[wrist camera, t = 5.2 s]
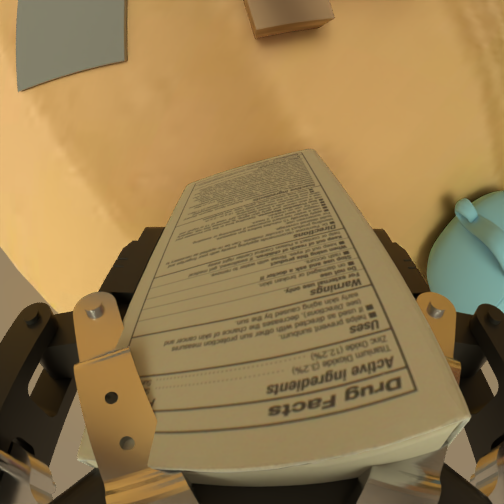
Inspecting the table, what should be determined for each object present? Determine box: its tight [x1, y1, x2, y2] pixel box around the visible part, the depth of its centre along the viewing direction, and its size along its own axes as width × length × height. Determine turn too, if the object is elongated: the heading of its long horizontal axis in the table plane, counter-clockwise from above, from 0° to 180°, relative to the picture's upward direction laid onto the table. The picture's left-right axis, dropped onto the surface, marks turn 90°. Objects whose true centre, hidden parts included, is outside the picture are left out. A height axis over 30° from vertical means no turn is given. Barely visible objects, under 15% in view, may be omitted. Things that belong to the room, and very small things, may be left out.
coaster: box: [16, 0, 127, 92], centre depth 15 cm, size 12×12×1 cm
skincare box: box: [77, 149, 471, 487], centre depth 9 cm, size 6×4×12 cm
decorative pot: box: [427, 191, 504, 315], centre depth 23 cm, size 16×16×14 cm
